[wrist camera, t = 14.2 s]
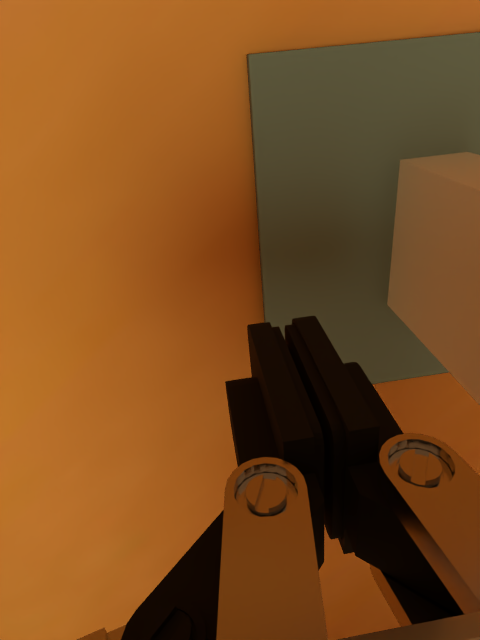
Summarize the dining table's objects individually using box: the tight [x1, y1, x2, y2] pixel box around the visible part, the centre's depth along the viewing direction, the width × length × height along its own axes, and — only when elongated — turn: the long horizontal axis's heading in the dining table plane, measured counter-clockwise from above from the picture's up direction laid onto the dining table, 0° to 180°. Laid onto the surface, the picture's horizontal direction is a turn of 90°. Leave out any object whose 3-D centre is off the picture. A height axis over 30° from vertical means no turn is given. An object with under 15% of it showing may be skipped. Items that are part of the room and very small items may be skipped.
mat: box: [247, 32, 480, 384], centre depth 18 cm, size 14×17×1 cm
